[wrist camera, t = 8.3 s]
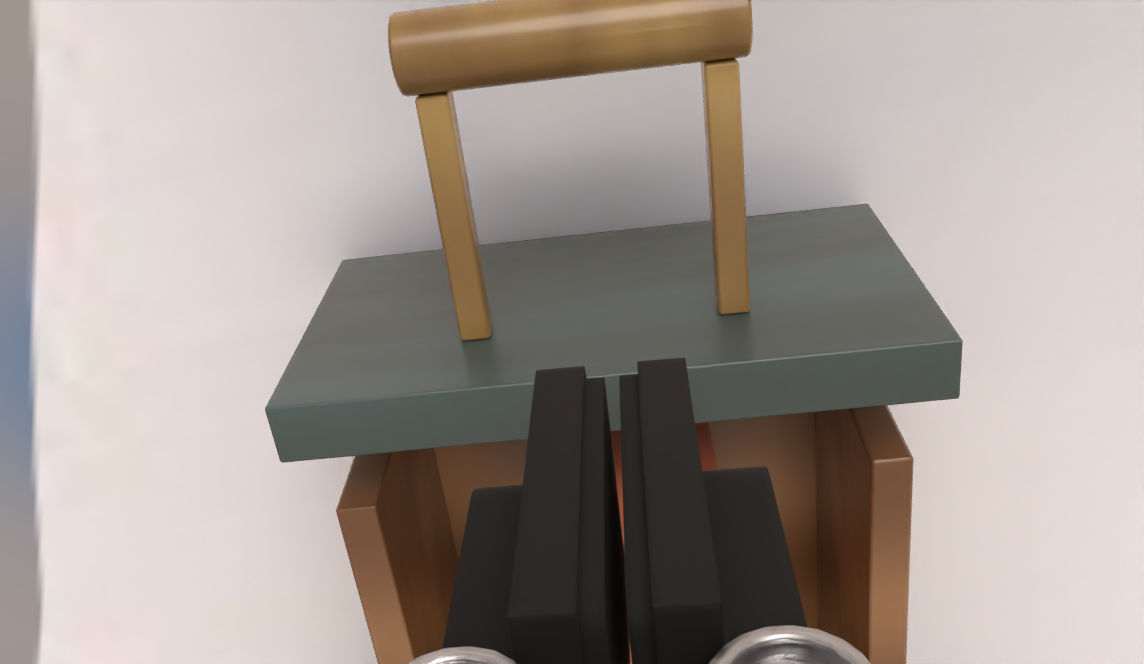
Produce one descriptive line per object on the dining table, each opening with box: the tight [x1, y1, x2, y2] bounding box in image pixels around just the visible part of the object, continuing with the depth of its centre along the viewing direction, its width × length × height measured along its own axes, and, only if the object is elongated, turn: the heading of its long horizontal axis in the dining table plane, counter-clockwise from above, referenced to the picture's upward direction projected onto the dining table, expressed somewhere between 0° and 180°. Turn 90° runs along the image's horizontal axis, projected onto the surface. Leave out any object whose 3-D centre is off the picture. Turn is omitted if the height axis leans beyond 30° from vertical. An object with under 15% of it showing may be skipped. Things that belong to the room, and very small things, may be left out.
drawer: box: [265, 0, 963, 664], centre depth 23 cm, size 22×12×7 cm, turn 7°
